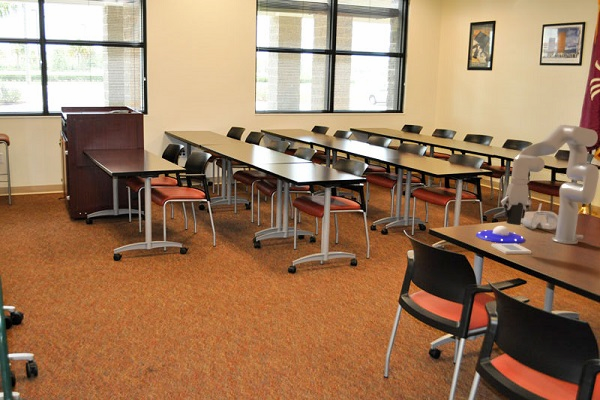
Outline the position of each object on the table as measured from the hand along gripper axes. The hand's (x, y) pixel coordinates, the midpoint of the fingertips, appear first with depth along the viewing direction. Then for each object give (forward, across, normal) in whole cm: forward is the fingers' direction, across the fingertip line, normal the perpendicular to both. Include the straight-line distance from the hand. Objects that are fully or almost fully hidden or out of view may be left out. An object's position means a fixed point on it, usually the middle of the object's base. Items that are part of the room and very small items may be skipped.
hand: (514, 217), depth 318 cm
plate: (+16, -1, 0) cm, 16 cm away
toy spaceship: (+17, -8, -23) cm, 30 cm away
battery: (+4, 0, 0) cm, 4 cm away
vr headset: (+16, -43, -43) cm, 63 cm away
